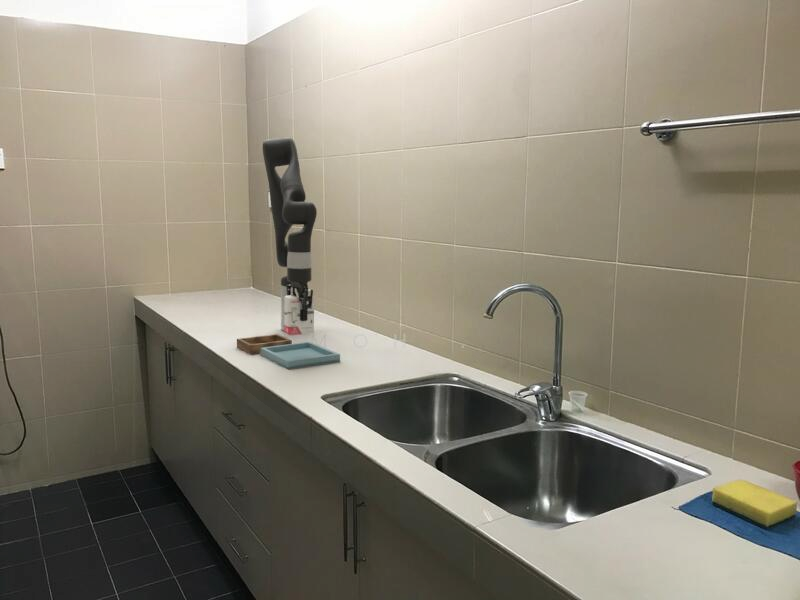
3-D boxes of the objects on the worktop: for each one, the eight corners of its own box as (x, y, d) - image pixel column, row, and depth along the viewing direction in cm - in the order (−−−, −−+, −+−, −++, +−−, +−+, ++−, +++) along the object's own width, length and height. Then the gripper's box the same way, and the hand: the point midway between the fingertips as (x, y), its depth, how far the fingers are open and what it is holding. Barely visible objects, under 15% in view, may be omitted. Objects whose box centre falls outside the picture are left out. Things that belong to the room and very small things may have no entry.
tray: (309, 348, 224) (309, 341, 224) (340, 361, 208) (340, 354, 208) (260, 355, 214) (260, 347, 213) (288, 369, 198) (288, 361, 197)
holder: (277, 342, 232) (277, 334, 231) (291, 348, 223) (291, 340, 222) (236, 347, 223) (236, 338, 222) (250, 354, 214) (249, 345, 214)
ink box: (288, 335, 206) (287, 298, 204) (283, 332, 210) (283, 295, 208) (314, 333, 209) (314, 296, 207) (309, 330, 214) (309, 294, 212)
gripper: (321, 268, 203) (320, 322, 205) (299, 263, 214) (299, 314, 217) (299, 269, 198) (299, 324, 201) (278, 264, 210) (278, 316, 212)
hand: (299, 319), depth 209 cm, fingers closed on ink box, 5 cm apart
